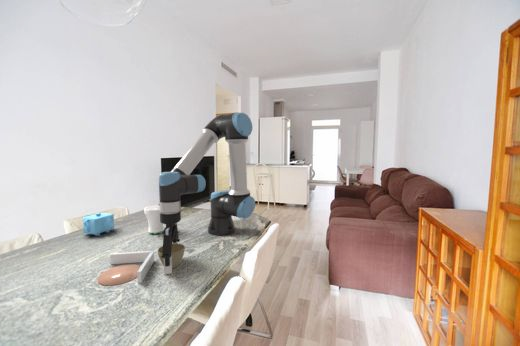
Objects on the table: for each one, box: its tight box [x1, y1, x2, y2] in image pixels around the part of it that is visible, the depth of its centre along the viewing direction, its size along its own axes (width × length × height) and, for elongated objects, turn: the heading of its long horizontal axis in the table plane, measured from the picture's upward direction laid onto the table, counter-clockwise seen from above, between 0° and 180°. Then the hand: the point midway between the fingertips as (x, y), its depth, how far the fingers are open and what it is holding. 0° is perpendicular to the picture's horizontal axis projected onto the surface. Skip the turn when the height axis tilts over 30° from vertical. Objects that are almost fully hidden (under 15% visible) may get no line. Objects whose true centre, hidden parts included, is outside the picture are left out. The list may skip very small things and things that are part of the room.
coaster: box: [97, 263, 142, 286], centre depth 84 cm, size 14×14×1 cm
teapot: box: [82, 212, 115, 237], centre depth 127 cm, size 16×18×11 cm
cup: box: [143, 204, 164, 236], centre depth 128 cm, size 11×11×14 cm
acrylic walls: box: [109, 250, 155, 284], centre depth 86 cm, size 16×17×4 cm
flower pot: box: [157, 243, 186, 269], centre depth 91 cm, size 10×10×7 cm
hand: (171, 265), depth 91 cm, fingers open, 12 cm apart
